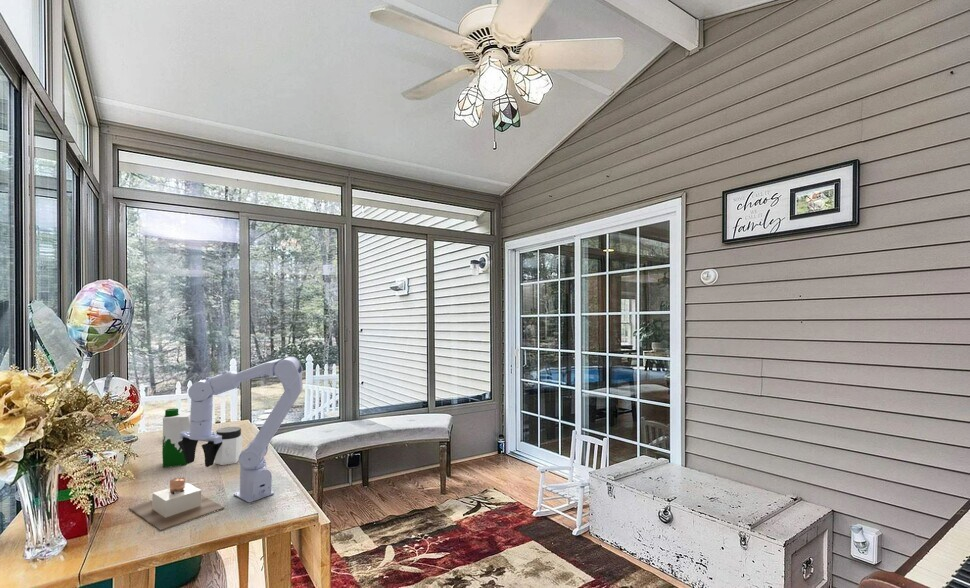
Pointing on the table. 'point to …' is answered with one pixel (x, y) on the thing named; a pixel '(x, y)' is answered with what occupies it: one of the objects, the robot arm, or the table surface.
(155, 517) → the board
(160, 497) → the hollow square block
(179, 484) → the plunger
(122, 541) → the table surface
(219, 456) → the jar
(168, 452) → the milk carton
